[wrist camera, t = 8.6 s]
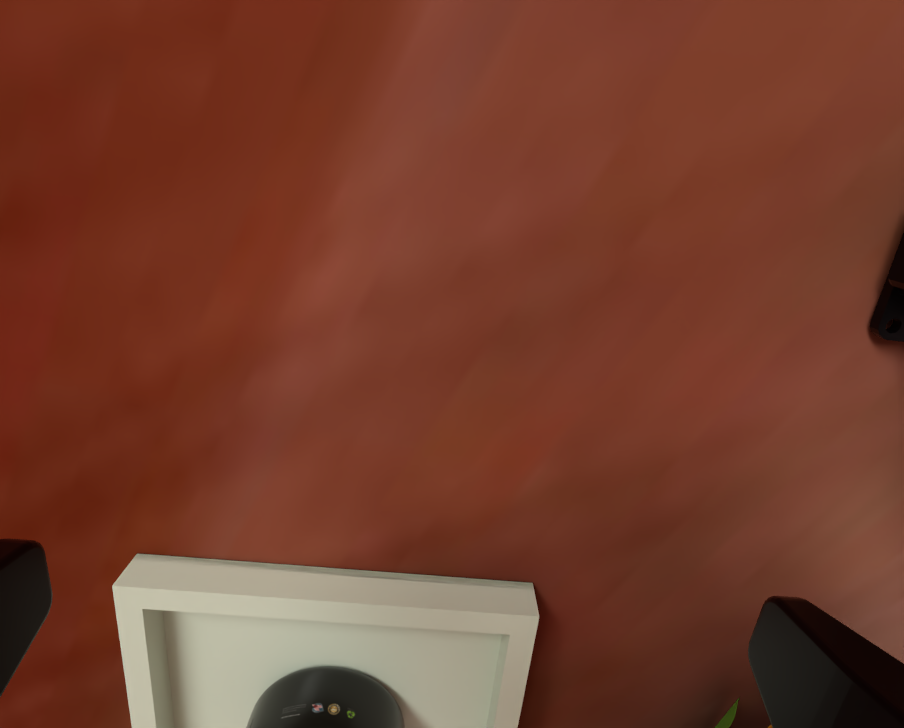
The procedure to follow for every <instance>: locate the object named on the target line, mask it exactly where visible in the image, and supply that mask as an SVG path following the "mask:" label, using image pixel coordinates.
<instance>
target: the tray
mask: <svg viewBox="0 0 904 728" xmlns="http://www.w3.org/2000/svg"><path fill="white" fill-rule="evenodd" d="M112 588H113V595H114V603H115V610H116V617H117V624H118V631H119V638H120V645H121V652H122V660H123V667H124V674H125V681H126V688H127V695H128V702H129V710H130V717H131V724H132V728H246V727H247V724H248V721H249V718H250V715H251V713H252V711H253V708H254V706H255V704H256V702H257V701H258V699H259V698H260V696H261V695H262V694H263V692H264V691H265V690H266V689H267V688H268V687H269V686H271V685H272V684H273V683H274V682H276V681H277V680H279V679H280V678H282V677H284V676H286V675H288V674H290V673H292V672H295V671H298V670H301V669H305V668H310V667H318V666H335V667H343V668H348V669H352V670H355V671H358V672H361V673H363V674H365V675H367V676H369V677H371V678H373V679H375V680H376V681H378V682H379V683H380V684H382V685H383V686H384V687H385V688H386V689H387V690H388V691H389V692H390V693H391V694H392V695H393V697H394V698H395V700H396V701H397V703H398V705H399V707H400V709H401V711H402V715H403V719H404V725H405V728H518V723H519V718H520V713H521V708H522V703H523V698H524V693H525V687H526V682H527V677H528V672H529V667H530V662H531V657H532V652H533V647H534V642H535V637H536V631H537V626H538V621H539V612H538V607H537V602H536V597H535V592H534V587H533V583H527V582H513V581H500V580H486V579H473V578H459V577H446V576H433V575H419V574H406V573H392V572H379V571H365V570H352V569H339V568H325V567H312V566H298V565H285V564H271V563H258V562H245V561H231V560H218V559H204V558H191V557H177V556H164V555H151V554H136V556H135V557H134V558H133V560H132V561H131V562H130V563H129V565H128V566H127V567H126V569H125V570H124V571H123V572H122V574H121V575H120V576H119V578H118V579H117V580H116V582H115V583H114V584H113V585H112Z"/></svg>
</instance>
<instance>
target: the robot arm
mask: <svg viewBox="0 0 904 728" xmlns="http://www.w3.org/2000/svg"><path fill="white" fill-rule="evenodd" d="M892 319H893V322H892V324H891V326H890V327H889V328H887V329H886V325H887V323H888V322H889V321H890V320H892ZM870 329H871V332H872V333H873V334H874V335H876V336H878V337H881V338H883V339H886V340H892V341H903V342H904V233H903V236H902V239H901V241H900V244H899V247H898V250H897V252H896V255H895V258H894V260H893V263H892V266H891V268H890V271H889V274H888V276H887V279H886V282H885V284H884V287H883V290H882V292H881V295H880V298H879V301H878V303H877V306H876V309H875V311H874V314H873V317H872V319H871V323H870ZM51 603H52V588H51V583H50V578H49V572H48V567H47V562H46V556H45V551H44V548H43V547H42V545H41V544H40V543H39V542H36V541H33V540H21V539H0V697H1V695H2V693H3V692H4V690H5V688H6V686H7V685H8V683H9V681H10V679H11V678H12V676H13V674H14V673H15V671H16V669H17V667H18V666H19V664H20V662H21V660H22V659H23V657H24V655H25V654H26V652H27V650H28V648H29V647H30V645H31V643H32V641H33V640H34V638H35V636H36V635H37V633H38V631H39V629H40V628H41V626H42V624H43V622H44V621H45V619H46V617H47V615H48V613H49V610H50V608H51ZM748 656H749V662H750V666H751V669H752V672H753V674H754V677H755V680H756V683H757V686H758V688H759V691H760V694H761V697H762V700H763V702H764V705H765V708H766V711H767V714H768V716H769V719H770V722H771V725H772V728H904V664H903V663H902V662H900V661H899V660H897V659H896V658H894V657H892V656H891V655H889V654H888V653H886V652H885V651H883V650H882V649H880V648H879V647H877V646H876V645H874V644H873V643H871V642H870V641H868V640H867V639H865V638H864V637H862V636H861V635H859V634H857V633H856V632H854V631H853V630H851V629H850V628H848V627H847V626H845V625H844V624H842V623H841V622H839V621H838V620H836V619H835V618H833V617H832V616H830V615H829V614H827V613H826V612H824V611H822V610H821V609H819V608H818V607H816V606H815V605H813V604H812V603H810V602H809V601H807V600H805V599H802V598H797V597H783V596H772V597H769V598H768V599H767V600H766V601H765V602H764V604H763V607H762V609H761V612H760V615H759V617H758V620H757V623H756V626H755V628H754V631H753V634H752V636H751V639H750V642H749V648H748Z"/></svg>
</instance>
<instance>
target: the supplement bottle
mask: <svg viewBox="0 0 904 728" xmlns="http://www.w3.org/2000/svg"><path fill="white" fill-rule="evenodd" d="M246 728H405V725H404V719H403V715H402V711H401V709H400V707H399V705H398V703H397V701H396V700H395V698H394V697H393V695H392V694H391V693H390V692H389V691H388V690H387V689H386V688H385V687H384V686H383V685H382V684H380V683H379V682H378V681H376V680H375V679H373V678H371V677H369V676H367V675H365V674H363V673H361V672H358V671H355V670H352V669H348V668H343V667H335V666H318V667H310V668H305V669H301V670H298V671H295V672H292V673H290V674H288V675H286V676H284V677H282V678H280V679H279V680H277V681H276V682H274V683H273V684H272V685H271V686H269V687H268V688H267V689H266V690H265V691H264V692H263V694H262V695H261V696H260V698H259V699H258V701H257V702H256V704H255V706H254V708H253V711H252V713H251V715H250V718H249V721H248V724H247V727H246Z"/></svg>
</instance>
